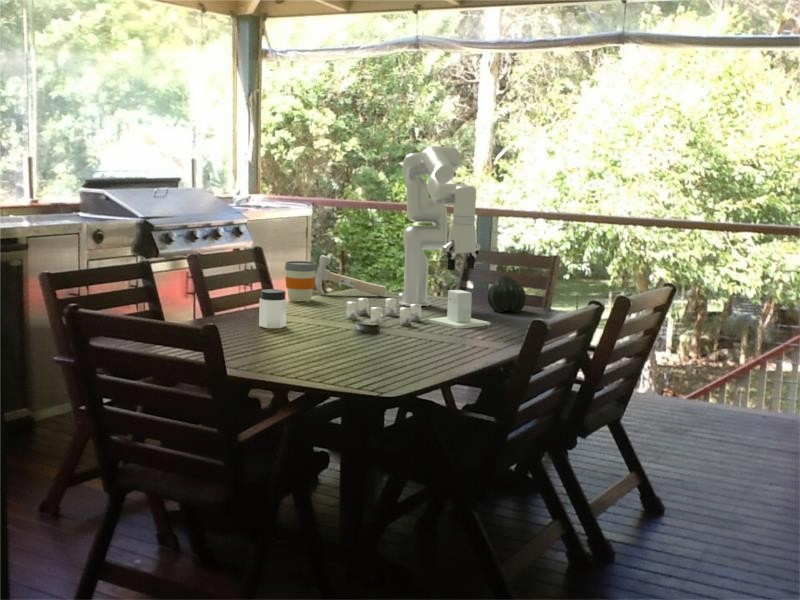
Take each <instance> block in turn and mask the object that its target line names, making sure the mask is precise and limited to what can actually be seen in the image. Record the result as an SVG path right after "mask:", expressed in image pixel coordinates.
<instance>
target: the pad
mask: <svg viewBox="0 0 800 600" xmlns="http://www.w3.org/2000/svg"><path fill="white" fill-rule="evenodd" d="M427 321H428V322H427ZM426 322H427V323H432V324H436V325H441V326H445V327H449V328H453V329H457V330H460V329H467V328H468V329H469V328H476V327H486V326H485V325H487V326H491V321H486V320H482V319H478V318H472V317H471V322H455V321H452V320H449V319H447V316H443V317H442V316H441V317H433V318H431V317H430V318H427V319H426Z"/></svg>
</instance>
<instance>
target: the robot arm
mask: <svg viewBox="0 0 800 600" xmlns="http://www.w3.org/2000/svg"><path fill="white" fill-rule="evenodd" d="M461 158H462V157H461V154H460V152H459V150H458V149H457V148H456V147H454V146H442V145H440V146H439V145H432V146H428V147H427V148H425V149H424V150H423V152H412V153H408V154H406V155H405V157H404V159H403V162H402V174H403V177H404V178H403V179H404V182H405V185H406V215H407V218H408V220H409V221H411V222H412V223H413V222H414V223H432V225H410V226H408V227H407V228H405V229H404V230H403V231H404V232H403V246H404V247H403V248H404V270H403V272H404V273H403V274H404V277H403V291H402V292H401V293H399V294H398V297H399V298H401V300H399V301H398V304H399V305H401V306H404V305H405V306H404V307H410V304H421V306H426V307H430V306H431V301H429V300H428V288H429V287H428V284H429V259H428V257H427V255H426V253H425V251H428V250H429V251H438V250H443V252H444V256H446V259H447V265H446V266H447V268H446V269H447V270H448V271H455V269H456V259H455V258H456V256H457V254H458V255H464V254H467V261H466V262H467V264H466V268H467V269H469V270H475V269H476V268H475V267H476V266H475V265H476V259H477V258H478V257H477V256H478V254H480V249H481V247H482V245H481V244H479V243H478V242H477V234H476V233H477V230H476V225H475V222H476V220H477V219H476V205H477V204H476V203H477V188H476V187H475V186H472V185H468V184H462V183H448V182H450V181H451V180H452V179H453V177H454V175H455V171H456V170H457V169H458V168H459V166H460V165H461V162H462V161H461ZM423 176H429V177H428V182H426V180H425V179H424V177H423ZM429 195H430V197H429ZM447 206H453V214H452V215H453V217H452V224H451V225H450V228H449V232H448V213H447V212H448V209H447ZM429 305H430V306H429Z"/></svg>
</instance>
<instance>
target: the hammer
mask: <svg viewBox="0 0 800 600" xmlns="http://www.w3.org/2000/svg"><path fill="white" fill-rule="evenodd" d="M318 262H319V265H318V267H316V271H315V277H316V278H315V284H314V285H315V287H316V290H317V291H318V292H319V293H320V294H321V295H323V296H324V294H325V292H324V290H323V286H322V284H323V283H322V281H330V282H333V283H338V284H340V285H343V286H345V287H346V286H347V287H349V288H352V289H354V290H358V291H360V292H363V293H364V292H365V293H369V294H371V295H375V296H377V297H380V296H381V298H383V297H384V296H385V292H386V290H387V286H386V285H382V284H377V283H373V282H367V281H365V280H361V279H357V278H355V277H350V276H346V275H342V274H338V273H335V272H331V270H329V269H326V267H327V266H328V265H329V264H330V263H331V257H330V256H327V255H322V254H321V255H320V257H319V260H318Z"/></svg>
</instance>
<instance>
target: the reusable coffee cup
mask: <svg viewBox="0 0 800 600" xmlns="http://www.w3.org/2000/svg"><path fill="white" fill-rule="evenodd" d="M284 270H285V276H284V277H285V288H287V295H288V297H287V298H288V301H290V302H296V301H298V300H299V301H307V302H311V301H312V296H313V290H314V289H315V285H316V284H315V278H316V277H315V275H316V271H317V263H316V262H313V261H306V260H291V261H285V264H284Z"/></svg>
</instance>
